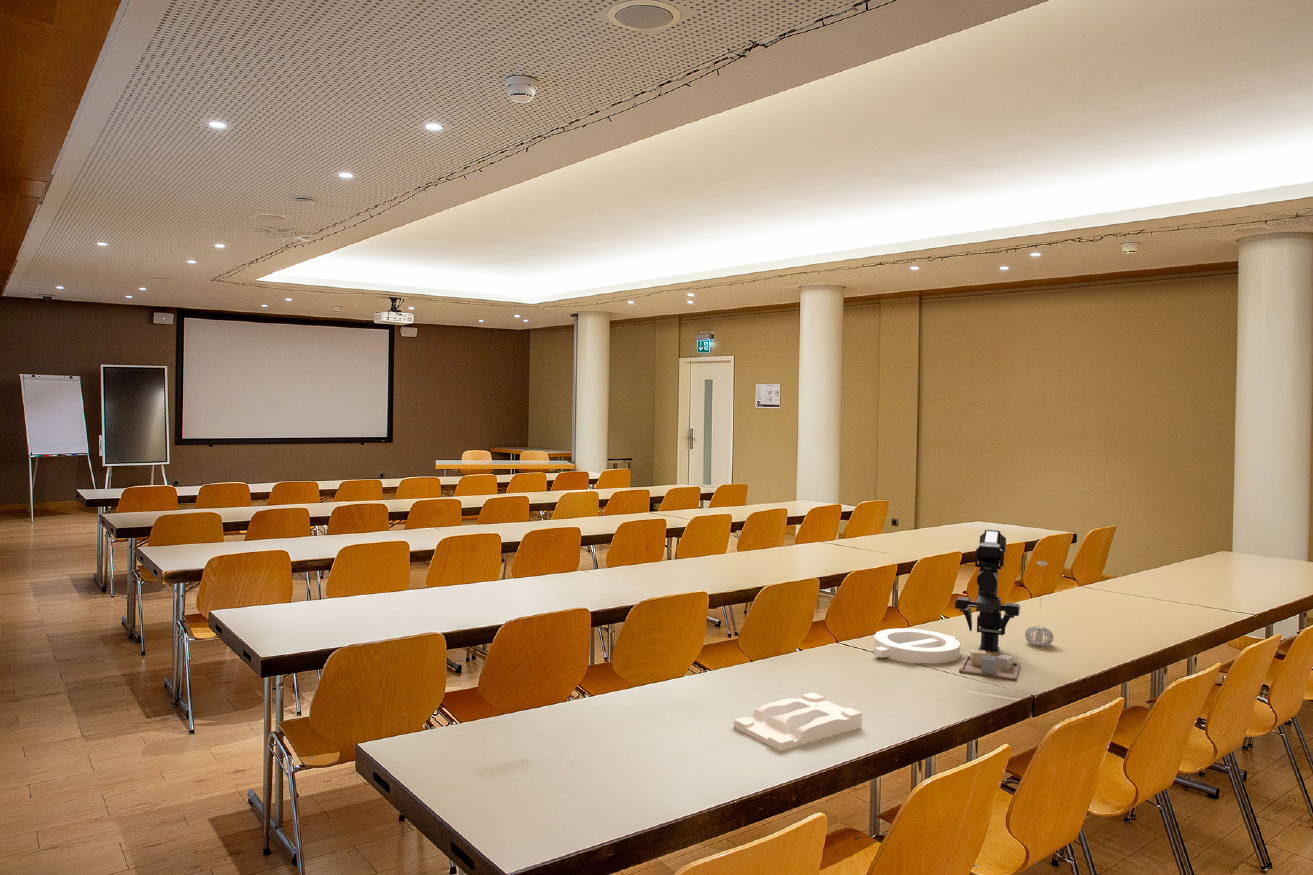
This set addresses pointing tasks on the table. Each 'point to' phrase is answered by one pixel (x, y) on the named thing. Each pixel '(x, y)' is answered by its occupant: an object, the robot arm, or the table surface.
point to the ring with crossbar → (916, 646)
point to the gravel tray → (1000, 674)
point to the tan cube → (976, 656)
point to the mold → (798, 721)
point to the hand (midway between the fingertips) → (986, 633)
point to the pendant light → (1039, 628)
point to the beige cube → (1004, 662)
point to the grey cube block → (988, 664)
